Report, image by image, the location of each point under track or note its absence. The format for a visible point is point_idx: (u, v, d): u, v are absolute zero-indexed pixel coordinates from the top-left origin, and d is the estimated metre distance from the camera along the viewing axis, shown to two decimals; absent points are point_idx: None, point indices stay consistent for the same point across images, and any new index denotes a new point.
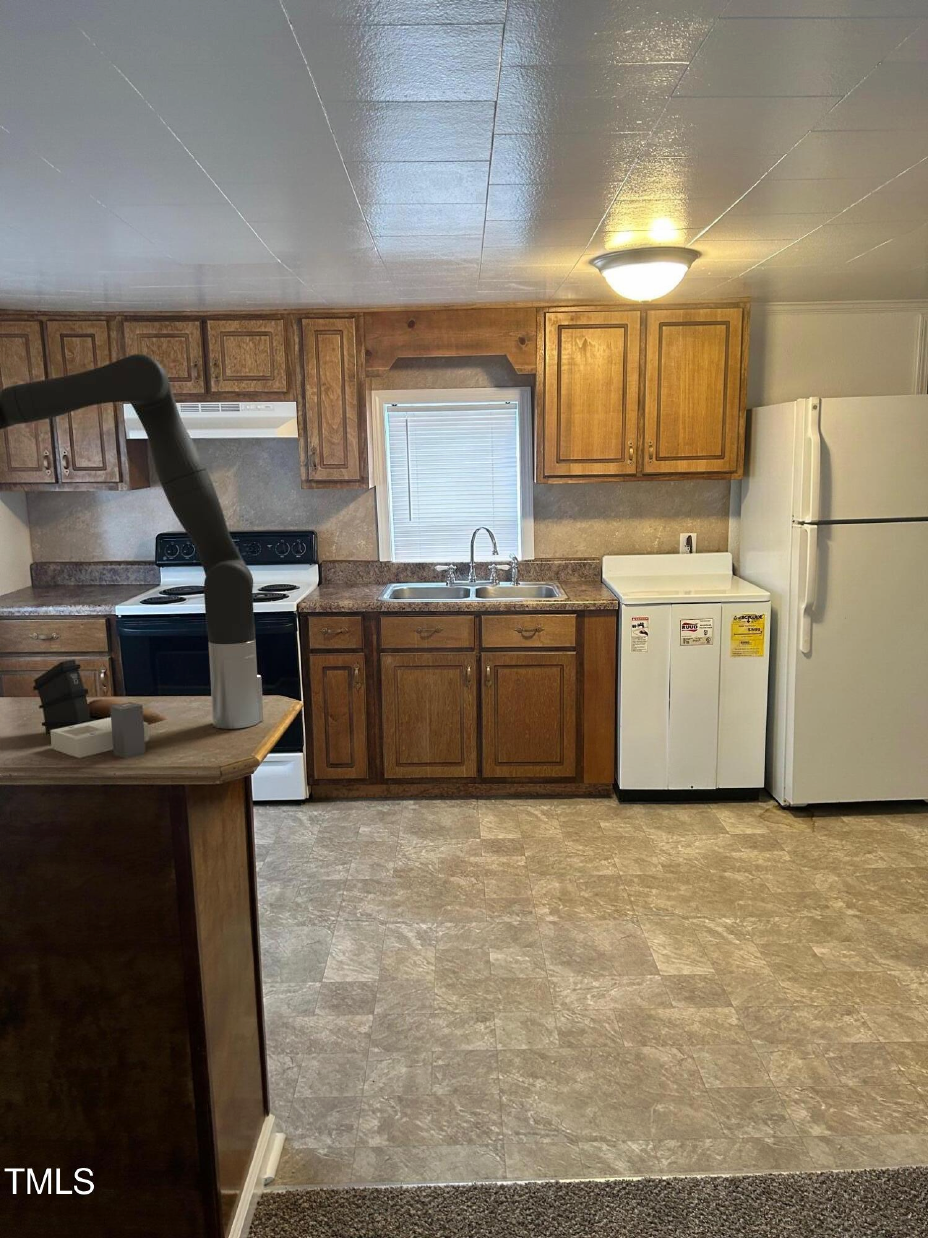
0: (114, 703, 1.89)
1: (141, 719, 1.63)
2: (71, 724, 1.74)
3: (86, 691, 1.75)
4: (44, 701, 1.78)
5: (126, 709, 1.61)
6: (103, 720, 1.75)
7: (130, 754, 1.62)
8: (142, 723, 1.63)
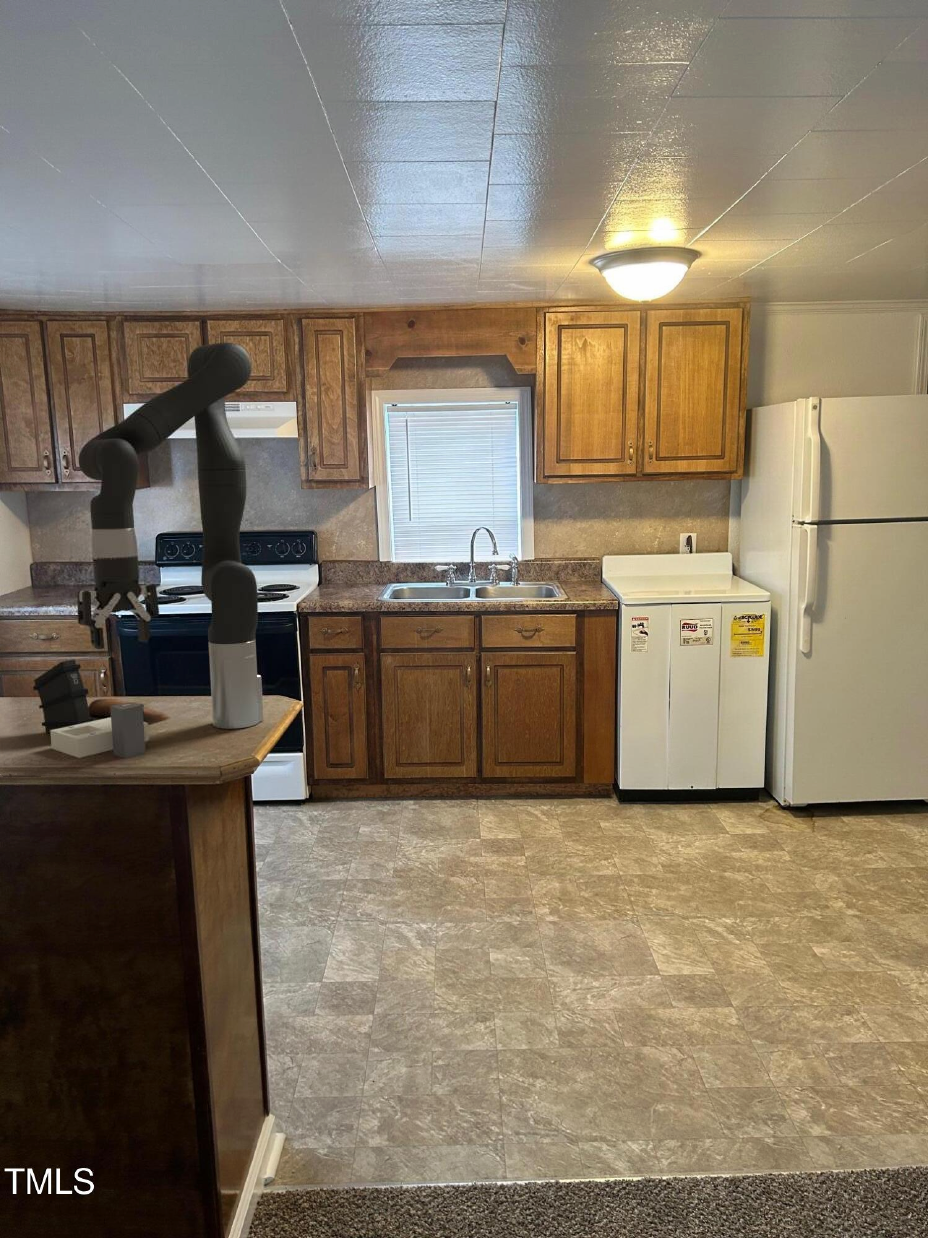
0: (118, 702, 1.90)
1: (141, 719, 1.63)
2: (71, 724, 1.74)
3: (86, 691, 1.75)
4: (44, 701, 1.78)
5: (126, 709, 1.61)
6: (103, 720, 1.75)
7: (130, 754, 1.62)
8: (142, 723, 1.63)
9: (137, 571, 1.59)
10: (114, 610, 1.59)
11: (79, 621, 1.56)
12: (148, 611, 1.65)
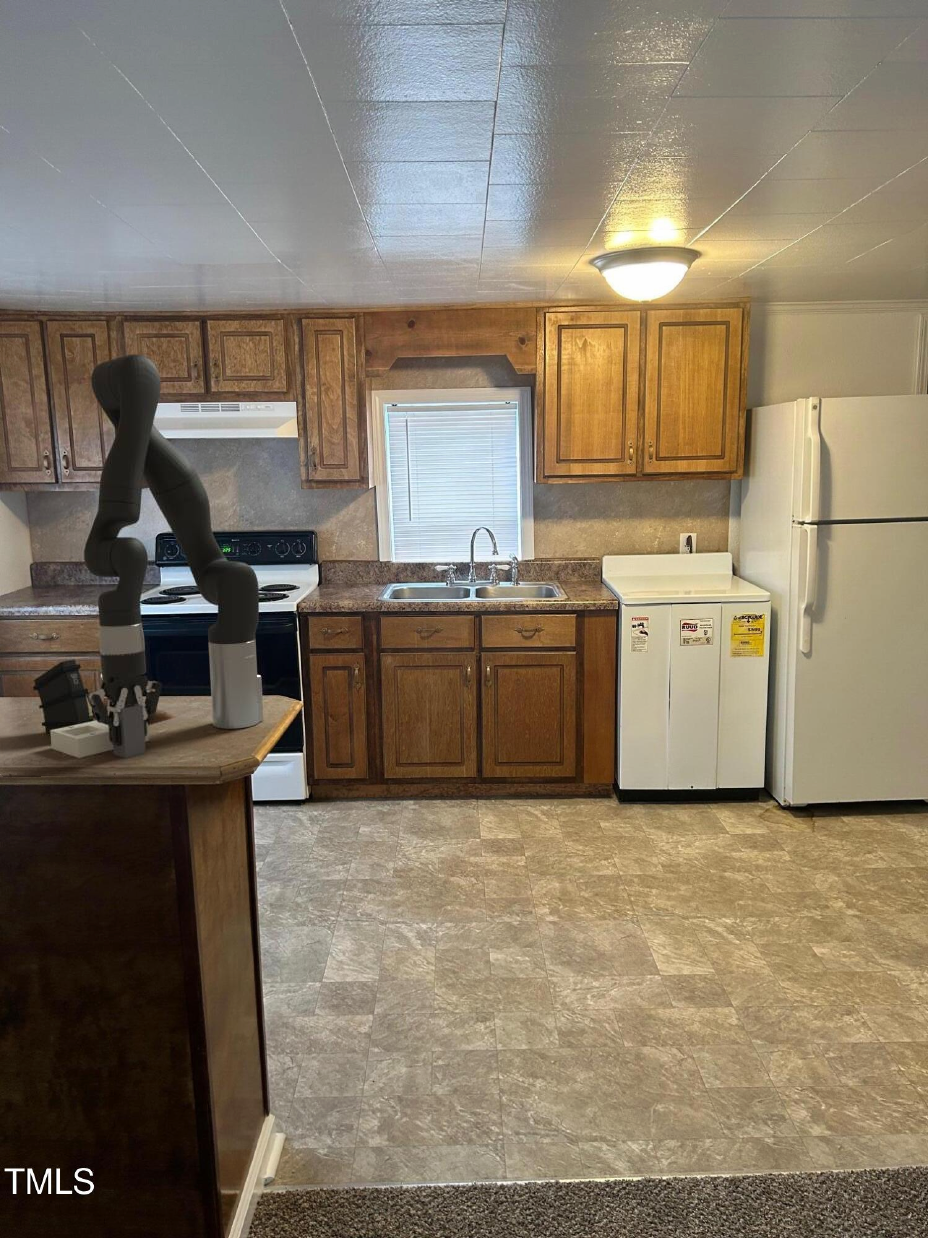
0: None
1: (141, 719, 1.63)
2: (71, 724, 1.74)
3: (86, 691, 1.75)
4: (44, 701, 1.78)
5: (126, 709, 1.61)
6: None
7: (130, 754, 1.62)
8: (142, 723, 1.63)
9: (144, 665, 1.62)
10: None
11: (98, 721, 1.60)
12: (145, 709, 1.66)
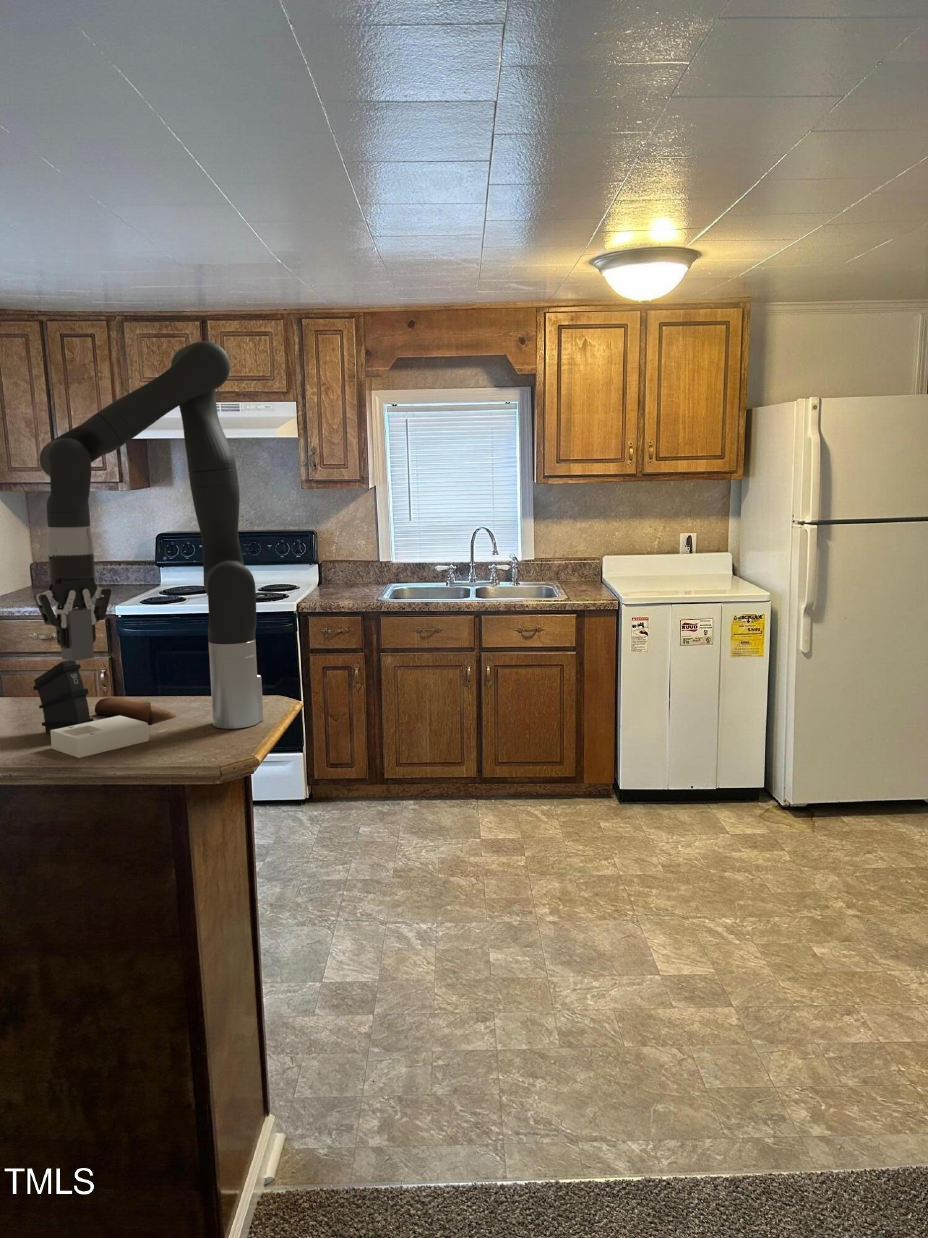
0: (125, 701, 1.91)
1: (89, 623, 1.64)
2: (71, 724, 1.74)
3: (86, 691, 1.75)
4: (44, 701, 1.78)
5: (74, 611, 1.62)
6: (103, 720, 1.75)
7: (78, 657, 1.63)
8: (90, 627, 1.64)
9: (92, 569, 1.63)
10: None
11: (45, 622, 1.60)
12: (94, 614, 1.67)
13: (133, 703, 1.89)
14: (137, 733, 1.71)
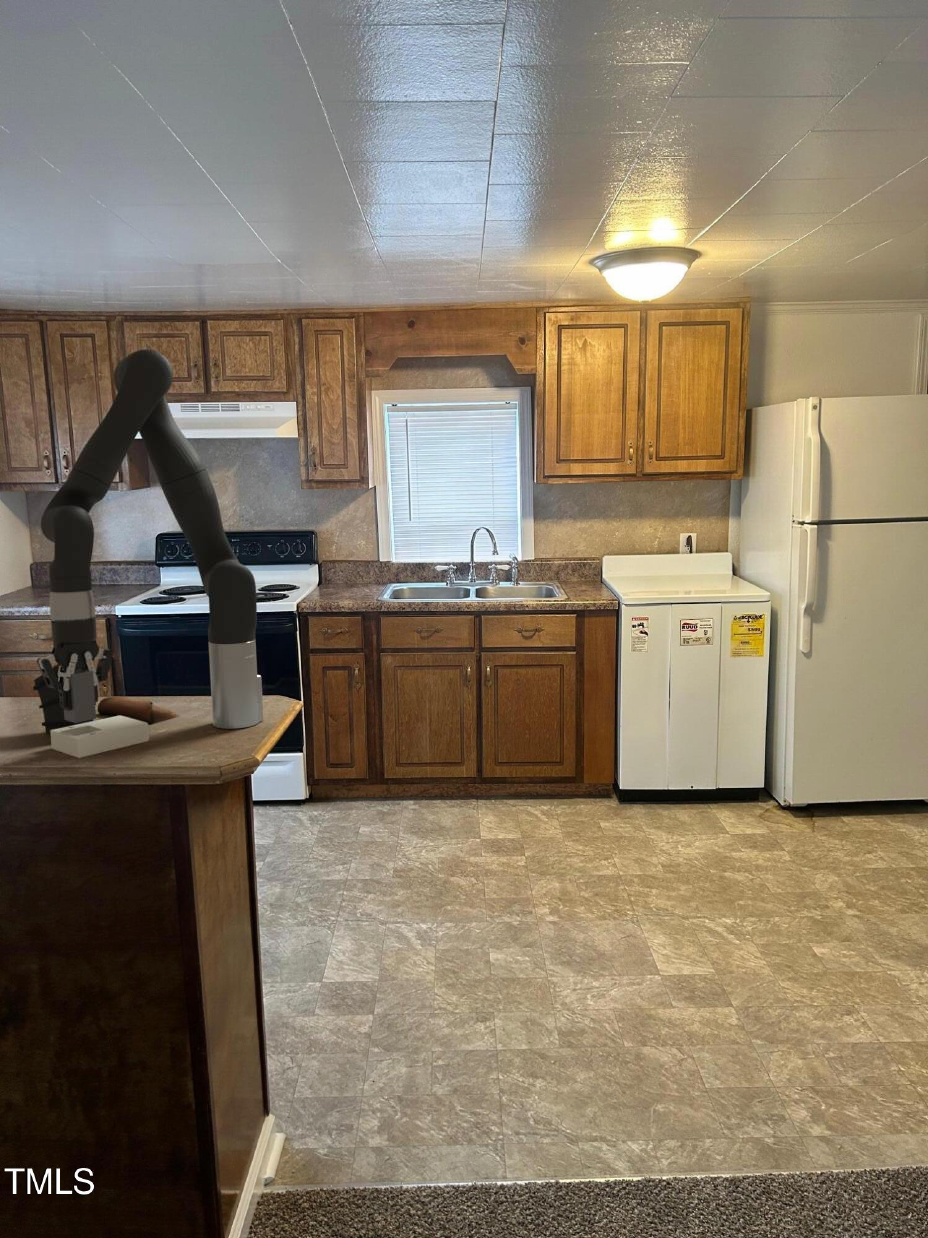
0: (127, 700, 1.91)
1: (92, 685, 1.66)
2: (71, 724, 1.74)
3: None
4: (44, 701, 1.78)
5: (76, 674, 1.64)
6: (103, 720, 1.75)
7: (80, 719, 1.65)
8: (93, 689, 1.66)
9: (94, 632, 1.65)
10: None
11: (48, 685, 1.63)
12: (96, 675, 1.69)
13: (135, 703, 1.89)
14: (137, 733, 1.71)
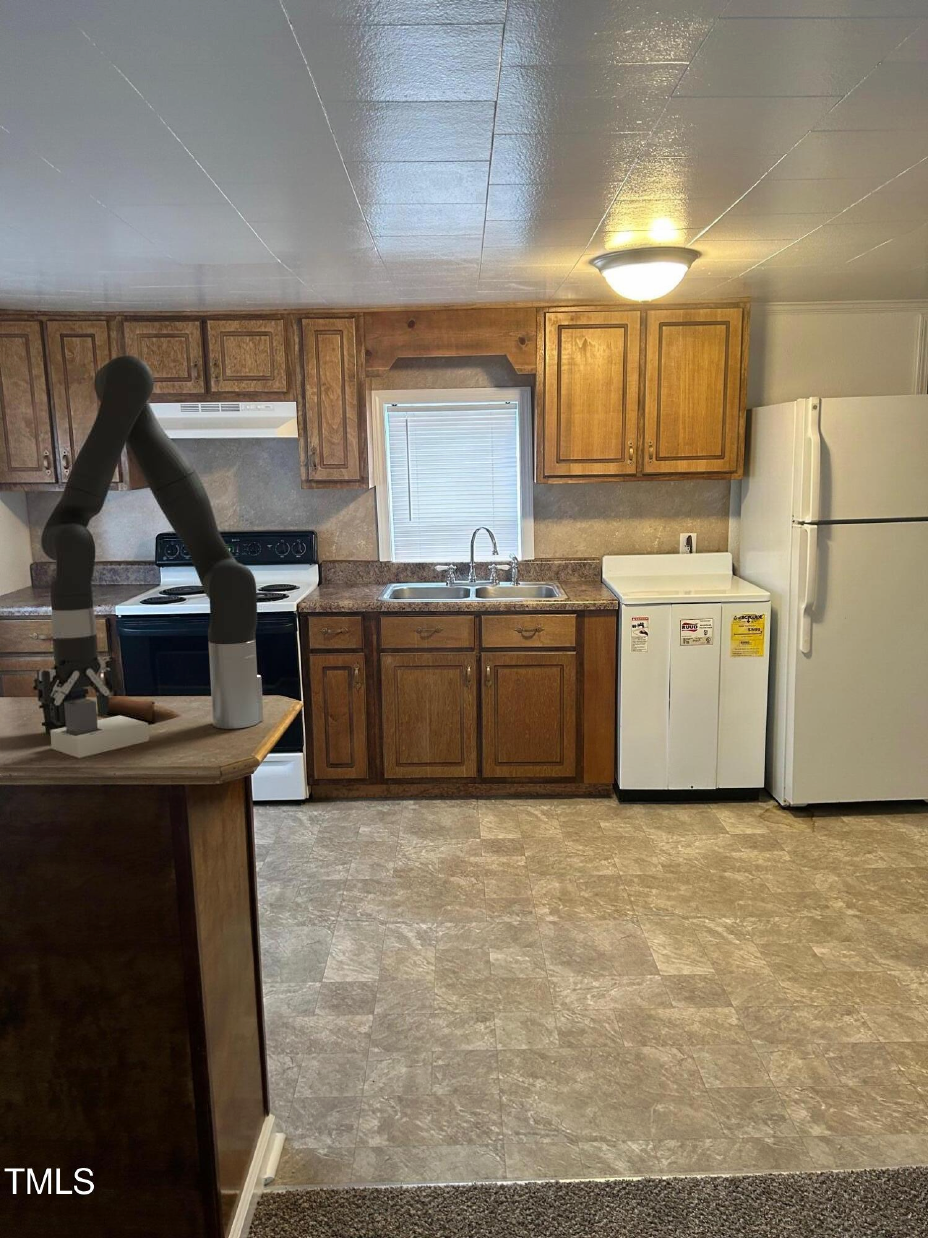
0: (129, 700, 1.92)
1: (94, 715, 1.67)
2: None
3: (86, 691, 1.75)
4: None
5: (79, 705, 1.64)
6: (103, 720, 1.75)
7: None
8: (95, 719, 1.67)
9: (96, 649, 1.65)
10: (73, 687, 1.64)
11: (39, 699, 1.61)
12: (107, 685, 1.70)
13: (137, 702, 1.90)
14: (137, 733, 1.71)
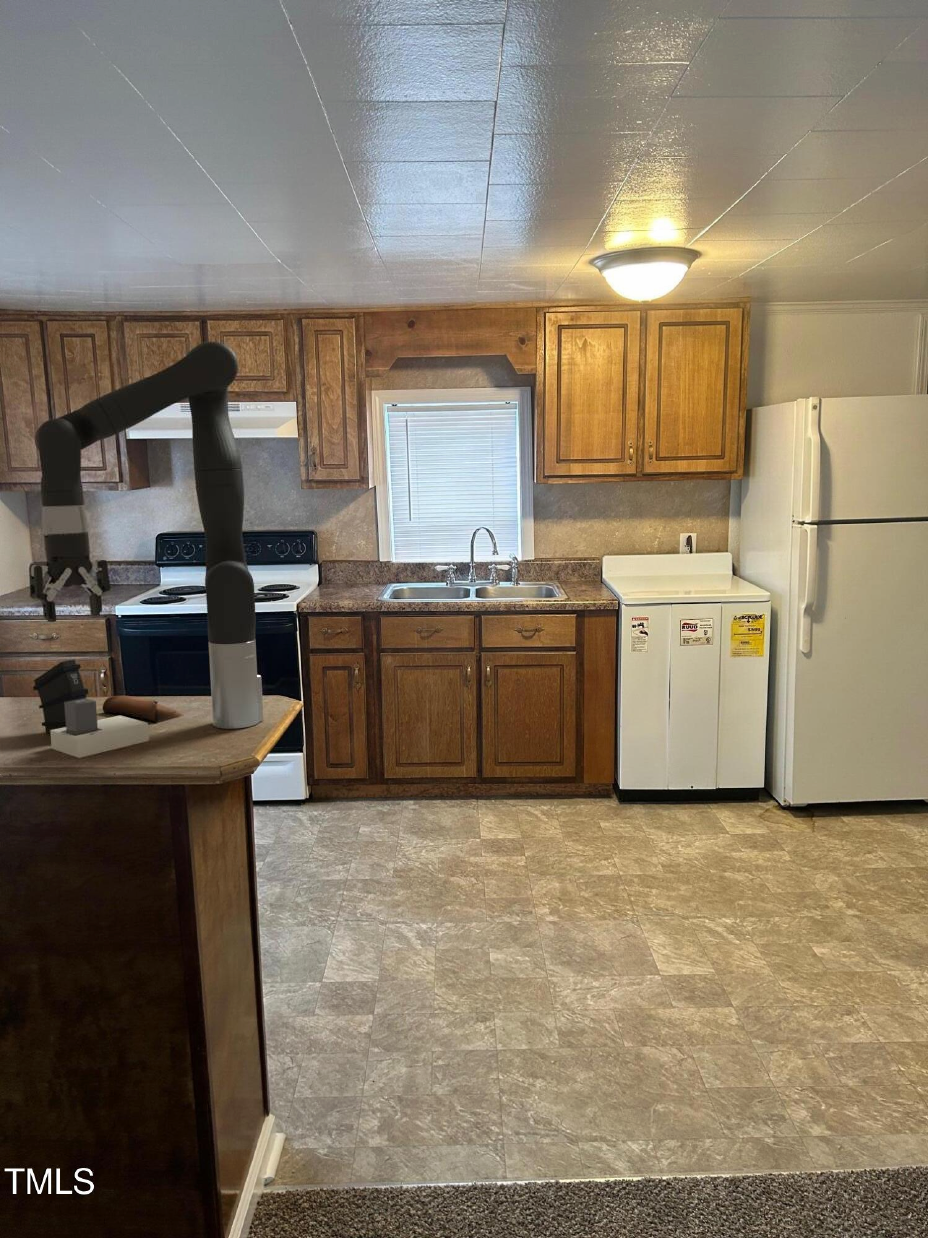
0: (132, 699, 1.92)
1: (94, 715, 1.67)
2: None
3: (86, 691, 1.75)
4: (44, 701, 1.78)
5: (79, 705, 1.64)
6: (103, 720, 1.75)
7: None
8: (95, 719, 1.67)
9: (87, 547, 1.66)
10: (66, 584, 1.65)
11: (31, 595, 1.62)
12: (100, 586, 1.71)
13: (140, 702, 1.90)
14: (137, 733, 1.71)
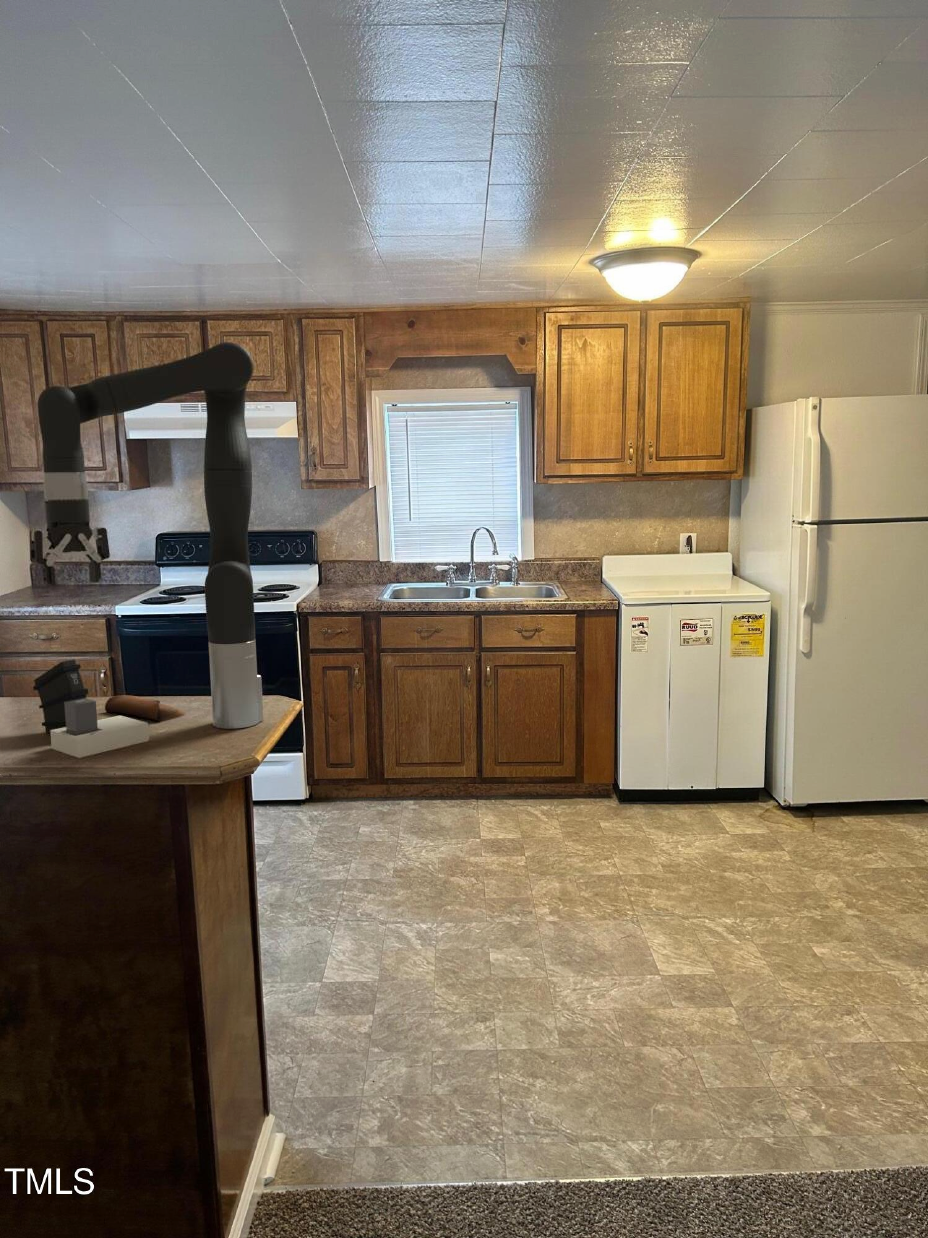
0: (134, 699, 1.93)
1: (94, 715, 1.67)
2: None
3: (86, 691, 1.75)
4: (44, 701, 1.78)
5: (79, 705, 1.64)
6: (103, 720, 1.75)
7: None
8: (95, 719, 1.67)
9: (87, 513, 1.68)
10: (65, 550, 1.67)
11: (31, 559, 1.64)
12: (99, 553, 1.74)
13: (142, 701, 1.91)
14: (137, 733, 1.71)
